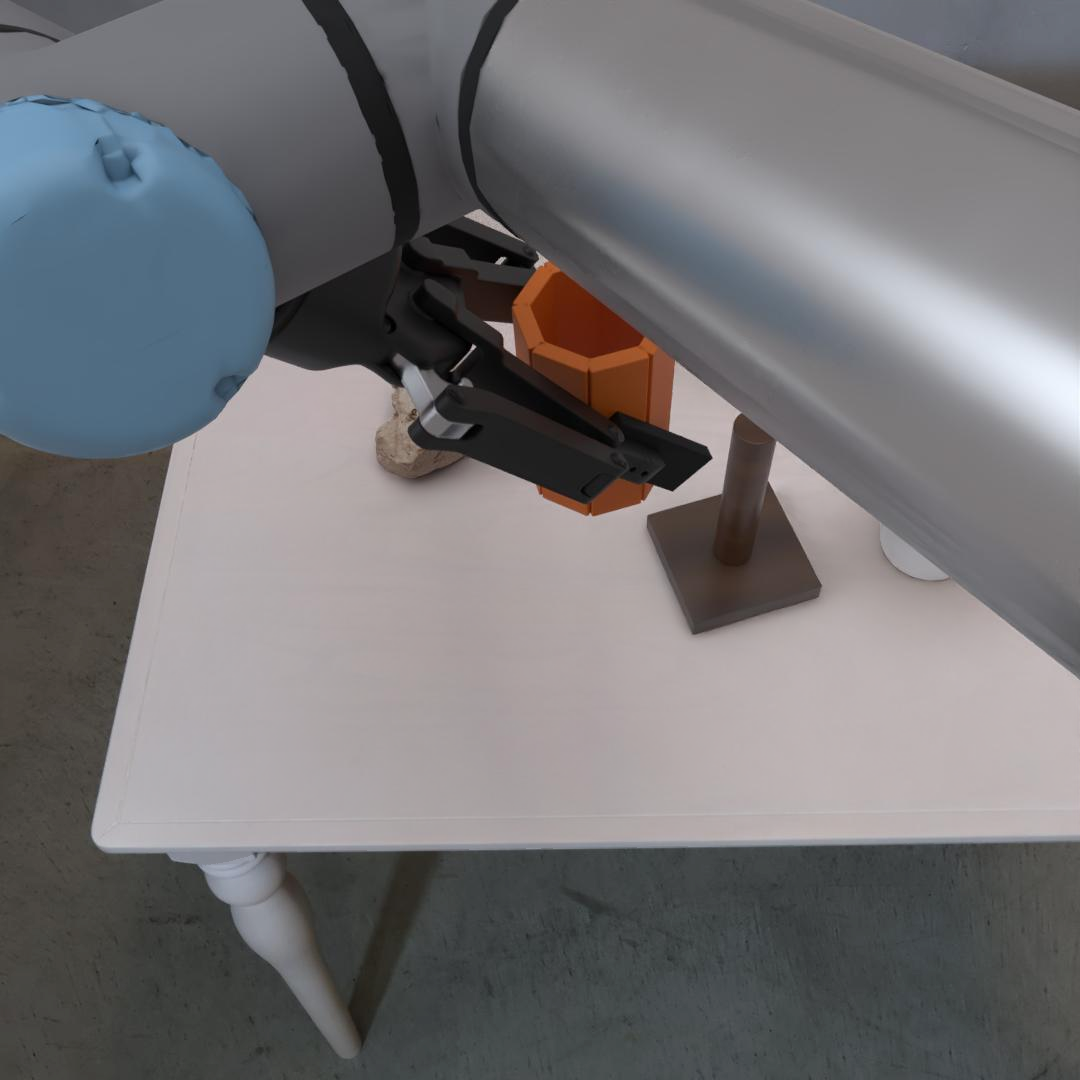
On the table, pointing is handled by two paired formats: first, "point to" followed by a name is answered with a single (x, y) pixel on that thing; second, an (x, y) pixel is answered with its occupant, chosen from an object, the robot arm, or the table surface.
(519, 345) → the orange octagonal sleeve
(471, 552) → the table surface
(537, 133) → the robot arm
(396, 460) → the stone
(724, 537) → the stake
